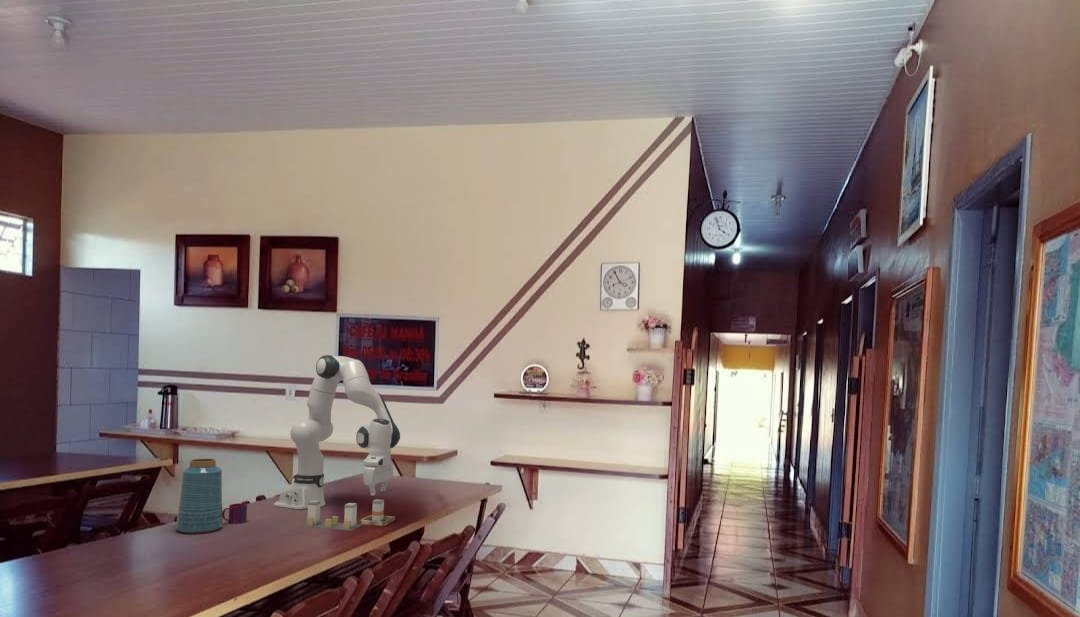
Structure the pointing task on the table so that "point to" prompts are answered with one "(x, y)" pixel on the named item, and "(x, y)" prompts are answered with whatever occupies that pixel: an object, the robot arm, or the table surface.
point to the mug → (236, 513)
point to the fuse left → (314, 511)
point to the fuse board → (331, 524)
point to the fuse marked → (378, 510)
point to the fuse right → (351, 514)
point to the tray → (387, 520)
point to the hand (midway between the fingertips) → (378, 493)
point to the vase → (200, 497)
